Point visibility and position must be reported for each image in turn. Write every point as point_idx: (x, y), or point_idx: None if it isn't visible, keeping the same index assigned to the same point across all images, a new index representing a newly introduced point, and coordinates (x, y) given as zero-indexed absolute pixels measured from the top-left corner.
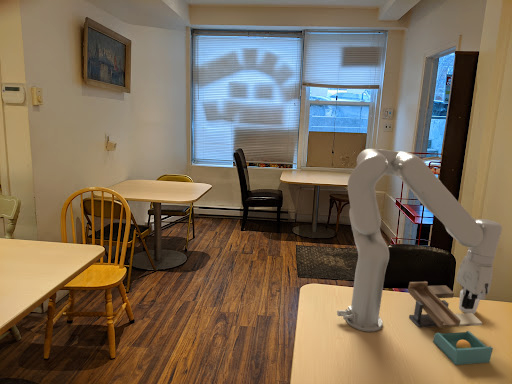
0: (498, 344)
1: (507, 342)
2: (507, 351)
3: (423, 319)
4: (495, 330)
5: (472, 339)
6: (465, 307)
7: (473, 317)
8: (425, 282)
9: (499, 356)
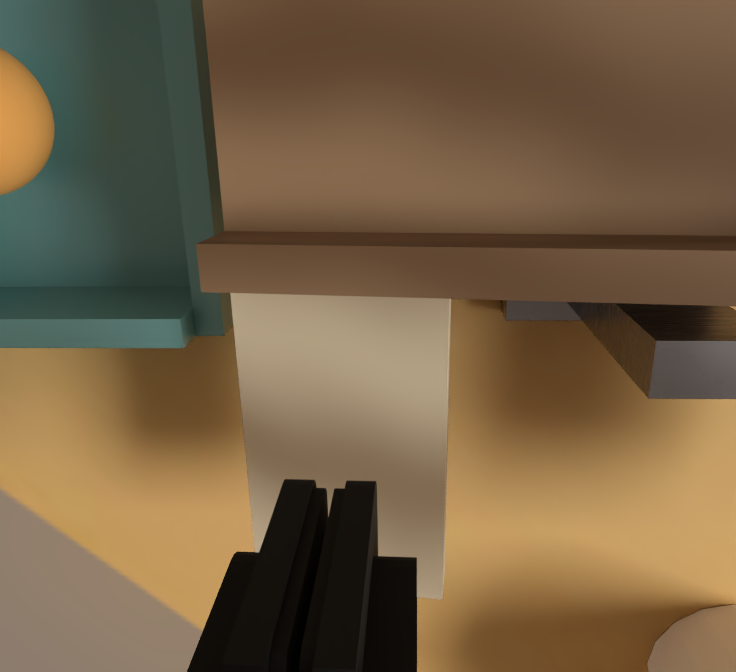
0: (189, 557)
1: None
2: (100, 558)
3: None
4: None
5: (88, 308)
6: (282, 502)
7: None
8: None
9: (27, 450)
